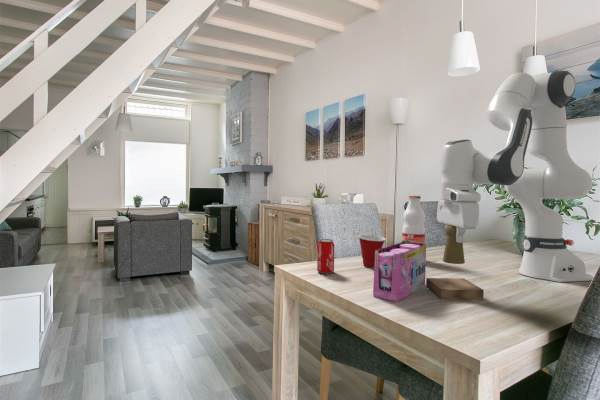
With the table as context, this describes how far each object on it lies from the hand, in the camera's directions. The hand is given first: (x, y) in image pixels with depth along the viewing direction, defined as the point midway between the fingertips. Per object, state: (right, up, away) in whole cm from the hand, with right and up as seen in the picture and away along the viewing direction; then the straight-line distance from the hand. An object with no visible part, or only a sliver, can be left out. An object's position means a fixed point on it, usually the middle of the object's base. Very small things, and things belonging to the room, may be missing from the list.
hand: (454, 240), depth 103 cm
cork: (0, -7, 0) cm, 7 cm away
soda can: (-37, -15, +24) cm, 47 cm away
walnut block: (0, -16, +1) cm, 16 cm away
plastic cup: (-18, -15, +35) cm, 42 cm away
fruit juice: (+3, -14, +46) cm, 48 cm away
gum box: (-15, -16, +4) cm, 22 cm away
